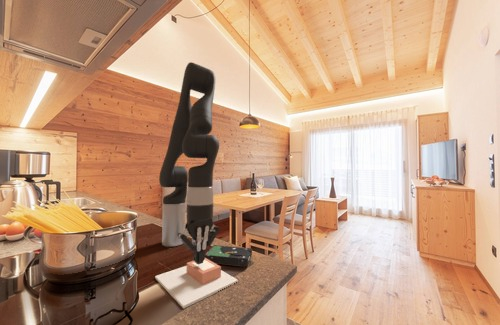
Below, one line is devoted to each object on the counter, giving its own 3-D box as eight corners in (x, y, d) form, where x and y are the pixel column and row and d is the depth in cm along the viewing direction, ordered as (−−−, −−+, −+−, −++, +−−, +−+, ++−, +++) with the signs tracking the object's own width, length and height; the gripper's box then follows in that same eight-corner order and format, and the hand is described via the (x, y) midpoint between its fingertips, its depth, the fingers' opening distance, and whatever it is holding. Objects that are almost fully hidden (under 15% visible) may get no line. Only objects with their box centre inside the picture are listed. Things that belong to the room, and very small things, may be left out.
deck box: (202, 284, 54) (220, 276, 58) (202, 273, 54) (220, 266, 58) (186, 272, 60) (204, 266, 64) (186, 262, 60) (204, 257, 64)
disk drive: (252, 255, 74) (213, 252, 77) (252, 248, 75) (213, 244, 77) (247, 268, 64) (203, 263, 66) (248, 258, 64) (203, 254, 67)
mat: (155, 278, 58) (155, 276, 58) (203, 261, 69) (203, 259, 69) (183, 308, 45) (183, 305, 45) (237, 282, 56) (237, 280, 56)
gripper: (184, 206, 52) (183, 275, 51) (226, 201, 61) (225, 260, 60) (172, 203, 57) (171, 265, 56) (212, 199, 66) (211, 253, 65)
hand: (199, 262), depth 58 cm, fingers closed
